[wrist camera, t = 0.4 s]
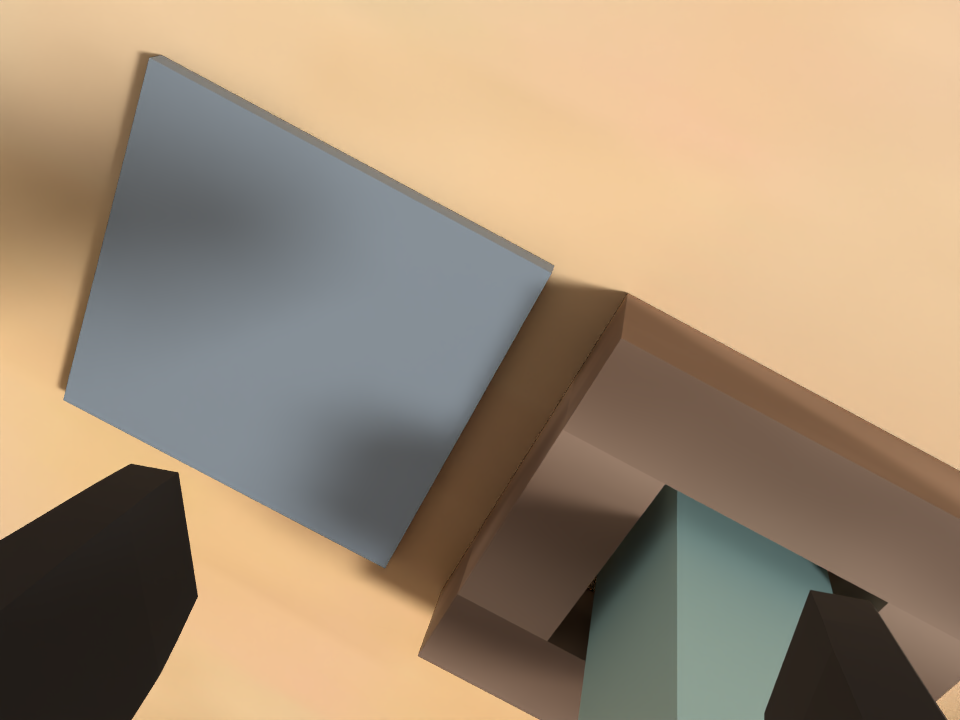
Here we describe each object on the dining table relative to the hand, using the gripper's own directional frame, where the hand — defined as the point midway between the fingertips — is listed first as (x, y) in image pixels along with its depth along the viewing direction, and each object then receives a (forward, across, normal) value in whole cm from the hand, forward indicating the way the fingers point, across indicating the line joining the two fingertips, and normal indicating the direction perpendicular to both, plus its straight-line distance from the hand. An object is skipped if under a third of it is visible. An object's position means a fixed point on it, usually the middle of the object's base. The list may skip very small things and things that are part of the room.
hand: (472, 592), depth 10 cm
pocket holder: (+10, -4, +8) cm, 13 cm away
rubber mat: (+11, +7, +4) cm, 13 cm away
